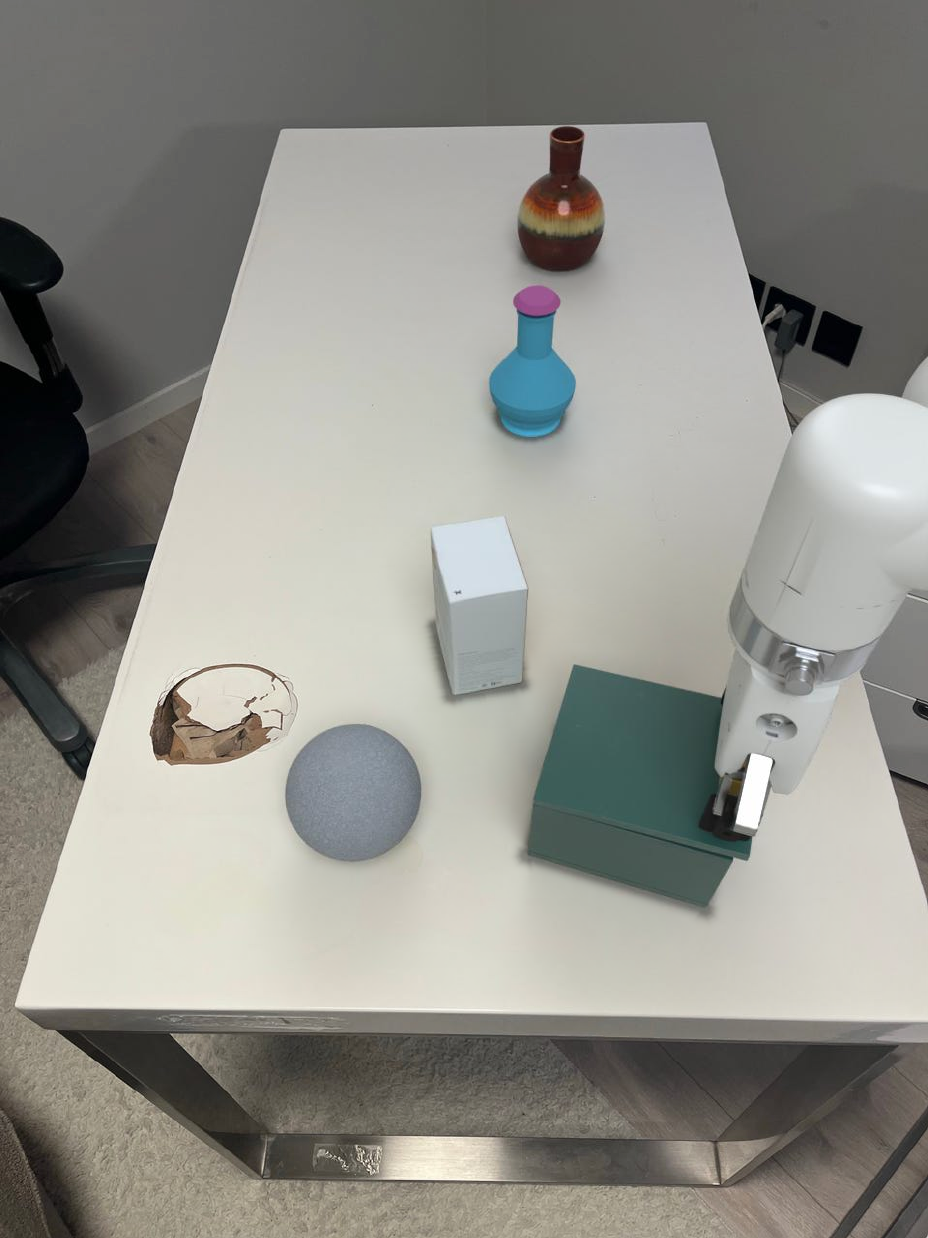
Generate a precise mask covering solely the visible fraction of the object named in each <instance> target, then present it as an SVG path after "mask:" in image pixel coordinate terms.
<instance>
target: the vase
mask: <svg viewBox="0 0 928 1238" xmlns="http://www.w3.org/2000/svg"><path fill="white" fill-rule="evenodd" d="M585 139H586V135H585V132H584V131H583V130H582V129H581V128H579V127H577V126H572V125H564V126H563V125H562V126H557V127H555V128H553V129H552V130H551V131H550V133H549V169H548V173H546V174H544V175H542V176H541V177H539V178H538V179H537V180H535V181H534V182H533V183H532V184H531V185H530V186H529V187H528V189H527V190H526V191H525V193H524V195H523V197H522V198H521V201H520V204H519V208H518V212H517V221H516V222H517V223H516V225H517V234H518V235H517V236H518V239H519V242H520V245H521V248H522V250H523V252H524V254H525V256H526V257H527V258H528V260H530V261H531V263H533V264H534V265H536V266H538V267H540V268H542V269H544V270H547V271H552V272H553V271H555V272H564V271H565V272H566V271H572V270H574V269H577V268H580V267H581V266H583V265H584V264H586V263H587V262H588V261H589V260H590V259H591V258H592V257H593V255H595V253H596V252H597V250H598V248H599V245H600V244H601V241H602V237H603V234H604V230H605V222H606V210H605V206H604V201H603V198H602V197H601V194H600V192H599V190H598V189H597V188H596V186H595V185H594V183H592V181H590V180H589V179H588V178H587V177H586V176H584V175H582V174H581V165H582V157H583V150H584V143H585Z"/></svg>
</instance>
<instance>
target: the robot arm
mask: <svg viewBox="0 0 928 1238" xmlns="http://www.w3.org/2000/svg"><path fill="white" fill-rule="evenodd" d="M782 456H783V457H782V459H781V462H780V465H779V467H778V471H777V473H776V475H775V479H774V482H773V484H772V487H771V490H770V492H769V495H768V498H767V501H766V505H765V507H764V510H763V512H762V515H761V518H760V521H759V524H758V527H757V530H756V532H755V535H754V538H753V541H752V543H751V547H750V549H749V551H748V555H747V558H746V560H745V564H744V567H743V568H742V571H741V574H740V576H739V580H738V582H737V585H736V588H735V591H734V594H733V596H732V599H731V603H730V605H729V608H728V611H727V618H726V623H727V631H728V634H729V637H730V640H731V642H732V644H733V646H734V652H733V655H732V659H731V663H730V668H729V672H728V677H727V681H726V685H725V688H724V690H723V693H722V695H721V698H722V699H721V705H722V706H723V709H722V715H721V722H720V729H719V737H718V744H717V751H716V758H715V769H716V771H717V773H718V774H719V775H720V776H721V780H720V784H719V787H718V791H717V794H711V796H710V798H709V800H708V802H707V805H706V807H705V809H704V811H703V813H702V816H701V818H700V822H699V828H700V829H702V830H705V831H709V832H712V833H713V836H715V837H716V838H718V839H721V840H725V841H729V842H736V841H738V840H741V841H748V840H749V839H750V837H751V836H753V837H754V838H755V837H756V834H757V832H758V831H759V829H758V828H759V826H760V825H761V822H762V820H763V817H764V812H765V809H766V807H767V802H768V799H769V795H770V792H771V789H772V792H773V793H774V794H778V795H784V796H789V795H791V794H792V793H794V792H795V791H796V790H797V789H798V787H799V785H800V783H801V782H802V780H803V777H804V775H805V773H806V772H807V769H808V767H809V766H810V763H811V761H812V759H813V757H814V755H815V754H816V752H817V749H818V747H819V745H820V743H821V741H822V739H823V736H824V734H825V731H826V729H827V727H828V724H829V722H830V719H831V718H832V717H831V716H832V714H833V711H834V708H835V706H836V702H837V699H838V696H839V691H840V689H841V686H842V684H843V683H845V682H847V681H849V680H851V679H852V678H854V677H856V675H858V674H859V673H860V672H861V671H862V670H863V668H864V667H865V665H866V664H867V662H868V661H869V659H870V657H871V655H872V654H873V652H874V650H875V649H876V647H877V645H878V644H879V642H880V641H881V639H882V637H883V636H884V634H885V632H886V630H887V629H888V627H889V626H890V624H891V622H892V620H893V619H894V617H895V616H896V614H897V613H898V611H899V609H900V607H901V606H902V604H903V602H904V601H905V599H906V597H907V595H908V594H909V593H910V591H911V590H917V591H924V592H928V355H927V356H926V358H924V359H923V361H922V362H921V363H920V364H918V366H917V368H916V369H915V371H914V372H913V374H912V375H911V377H910V378H909V380H908V381H907V383H906V385H905V388H904V390H903V392H902V395H901V397H900V396H896V395H891V394H883V393H870V392H869V393H867V392H866V393H864V392H863V393H852V394H847V395H841V396H838V397H836V398H832V399H830V400H828V401H826V402H824V403H822V404H820V405H818V406H817V407H815V408H814V409H812V410H811V411H810V412H809V413H808V414H807V415H805V416H804V418H803V419H802V420H801V421H800V422H799V423H798V425H797V426H796V427H795V429H794V431H793V433H792V434H791V437H790V439H789V441H788V443H787V446H786V448H785V450H784V453H783V455H782ZM746 757H747V761H746V766H745V767H744V766H742V765H743V763H744V761H745V759H746ZM732 779H734V780H737V781H741V782H742V783H741V788H740V792H739V797H736V796H733V795H729V794H728V793H729V790H730V786H731V783H732Z"/></svg>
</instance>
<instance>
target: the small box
mask: <svg viewBox="0 0 928 1238" xmlns="http://www.w3.org/2000/svg"><path fill="white" fill-rule="evenodd" d="M430 548H431V562H432V563H431V564H432V583H433V598H434V617H435V618H434V619H435V627H436V633H437V637H438V642H439V646H440V650H441V654H442V658H443V662H444V663H443V664H444V667H445V670H446V674H447V675H446V676H447V678H448V683H449V687H450V690H451V693H452V695H453V696H457V695H461V694H462V695H463V694H468V693H474V692H478V691H484V690H485V691H486V690H489V689H494V688H500V687H504V686H511V685H515V684H516V685H517V684H521V683H522V682H523V677H524V663H525V661H524V660H525V659H524V658H525V645H526V628H527V627H526V626H527V615H528V614H527V613H528V612H527V610H528V600H529V599H528V597H529V586H528V582H527V580H526V576H525V572H524V570H523V567H522V564H521V561H520V558H519V555H518V551H517V548H516V546H515V542H514V538H513V536H512V533H511V530H510V528H509V524H508V520H507V517H506V516H505V515H501V516H495V517H488V518H481V519H475V520H470V521H463V522H456V523H449V524H443V525H437V526H436V525H435V526H431V527H430Z"/></svg>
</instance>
